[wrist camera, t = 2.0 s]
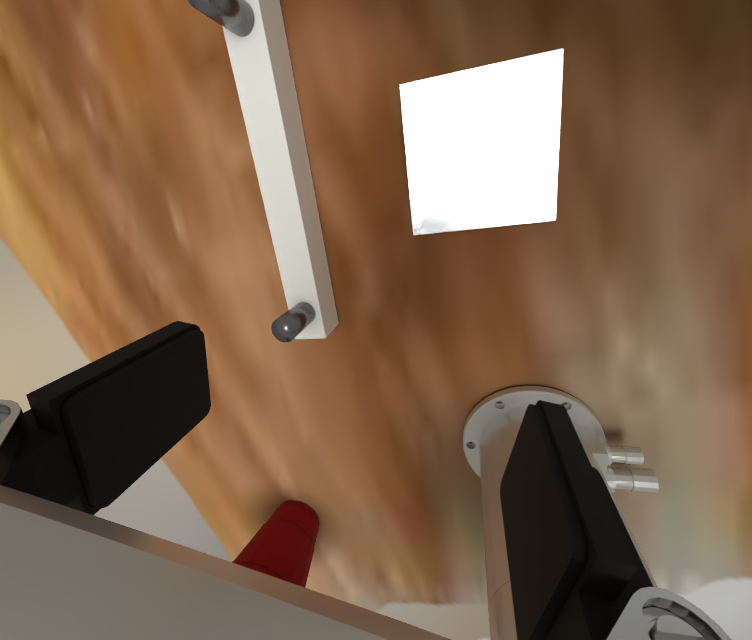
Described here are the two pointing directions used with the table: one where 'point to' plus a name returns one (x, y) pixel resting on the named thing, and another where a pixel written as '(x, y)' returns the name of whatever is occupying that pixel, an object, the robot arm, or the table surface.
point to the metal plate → (484, 144)
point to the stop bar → (279, 160)
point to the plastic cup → (283, 544)
